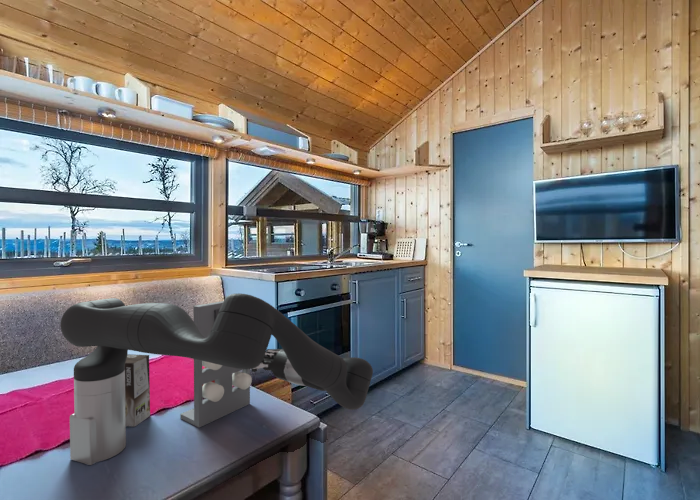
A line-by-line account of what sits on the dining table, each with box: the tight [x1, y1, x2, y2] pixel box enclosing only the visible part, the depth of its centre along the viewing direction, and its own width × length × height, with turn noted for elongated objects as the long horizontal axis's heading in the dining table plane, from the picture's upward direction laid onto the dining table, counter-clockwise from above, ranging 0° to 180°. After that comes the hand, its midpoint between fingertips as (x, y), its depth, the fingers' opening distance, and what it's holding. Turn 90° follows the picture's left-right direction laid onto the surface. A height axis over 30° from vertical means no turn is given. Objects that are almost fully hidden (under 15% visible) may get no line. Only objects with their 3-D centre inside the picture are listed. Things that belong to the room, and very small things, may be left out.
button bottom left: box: [202, 382, 224, 402], centre depth 94 cm, size 4×4×4 cm
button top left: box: [202, 361, 222, 370], centre depth 93 cm, size 4×4×4 cm
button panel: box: [179, 300, 251, 429], centre depth 100 cm, size 9×16×30 cm, turn 146°
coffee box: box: [125, 353, 151, 428], centre depth 95 cm, size 9×6×16 cm
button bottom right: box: [232, 371, 253, 390], centre depth 101 cm, size 4×4×4 cm
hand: (248, 353), depth 99 cm, fingers closed
